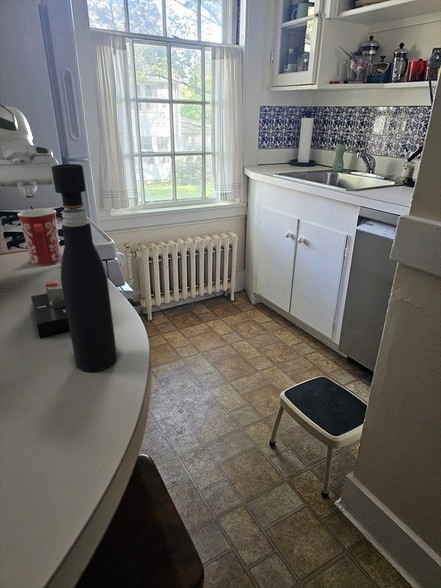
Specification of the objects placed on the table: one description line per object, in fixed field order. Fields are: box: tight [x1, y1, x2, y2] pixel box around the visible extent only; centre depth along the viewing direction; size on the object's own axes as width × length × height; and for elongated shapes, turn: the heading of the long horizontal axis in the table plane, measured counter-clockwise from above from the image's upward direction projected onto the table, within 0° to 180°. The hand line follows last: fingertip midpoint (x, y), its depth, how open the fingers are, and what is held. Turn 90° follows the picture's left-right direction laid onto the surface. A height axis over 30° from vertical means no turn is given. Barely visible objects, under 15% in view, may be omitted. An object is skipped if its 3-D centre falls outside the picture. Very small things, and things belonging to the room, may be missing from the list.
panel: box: [30, 293, 70, 340], centre depth 76 cm, size 13×10×3 cm
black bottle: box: [51, 163, 118, 373], centre depth 57 cm, size 6×6×30 cm
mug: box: [17, 208, 62, 267], centre depth 101 cm, size 13×9×14 cm
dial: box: [45, 279, 66, 309], centre depth 74 cm, size 4×4×4 cm
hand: (29, 196), depth 111 cm, fingers closed
